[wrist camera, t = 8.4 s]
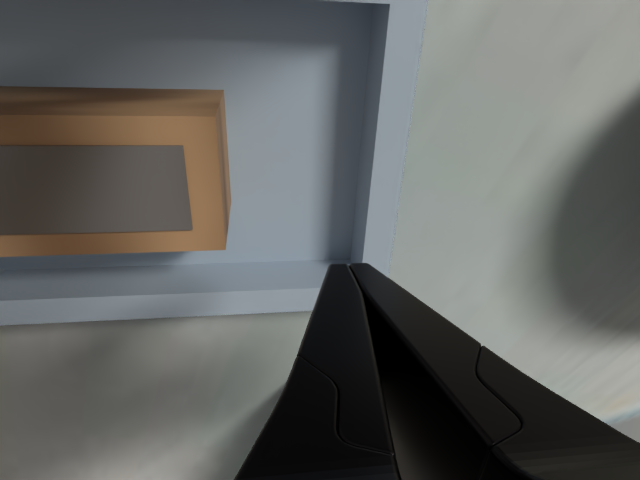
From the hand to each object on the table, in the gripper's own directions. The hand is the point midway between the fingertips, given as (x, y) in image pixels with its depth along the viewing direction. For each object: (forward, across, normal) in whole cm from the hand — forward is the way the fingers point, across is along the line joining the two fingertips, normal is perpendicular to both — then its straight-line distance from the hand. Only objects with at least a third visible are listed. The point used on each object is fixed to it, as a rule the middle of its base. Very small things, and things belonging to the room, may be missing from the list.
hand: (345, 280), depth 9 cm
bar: (+9, +8, 0) cm, 12 cm away
